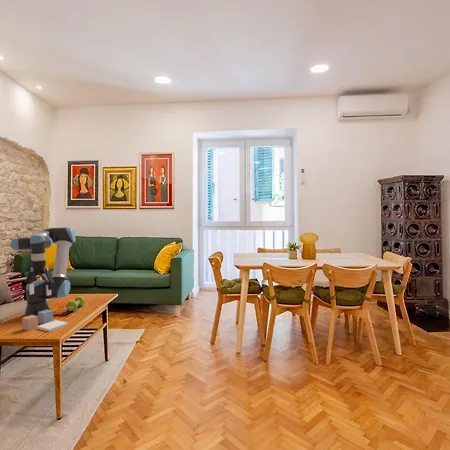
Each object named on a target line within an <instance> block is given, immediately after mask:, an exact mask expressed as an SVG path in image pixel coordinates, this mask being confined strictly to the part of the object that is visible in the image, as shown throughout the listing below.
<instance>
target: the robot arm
mask: <svg viewBox="0 0 450 450" xmlns="http://www.w3.org/2000/svg"><path fill="white" fill-rule="evenodd" d="M75 242H76V233H75V230H74V228H72V227H67V226H66V227H50V228H45V229H41V230H39V231H37V232H36V233H33V234H31V235H27V236H23V237H17V238H16V237H15V238H13V239H11V241H10V248H11V249H12V250H13V251H23V250H24V251H25V250H30V258H31V263H30V264H31V267H28V273H27V276H26V279H25V283H26V285H25V286H26V287H25V292H26V293H25V295H26V307H25V310H24V317H27V316H30V315H35V316H38V312H41V311H44V310H51V309H50V307H49V305H48V302H47V299H48V300H49V299H61V298H66V297H67V296H68V294H69V293H70V290H71V282H70V280H69V279H68V277H67V271H68V261H69V254H70V247H72V246H73V243H75ZM53 244H54V245H55V246H56V250H55V255H54V265H53V269H52V273H51V270H50V268H49V267H46V265H47V262H46V261H47V260H46V249H49V248H51V247H52V246H53ZM37 276H39V277H42V279H38V280H36V278H37Z"/></svg>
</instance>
